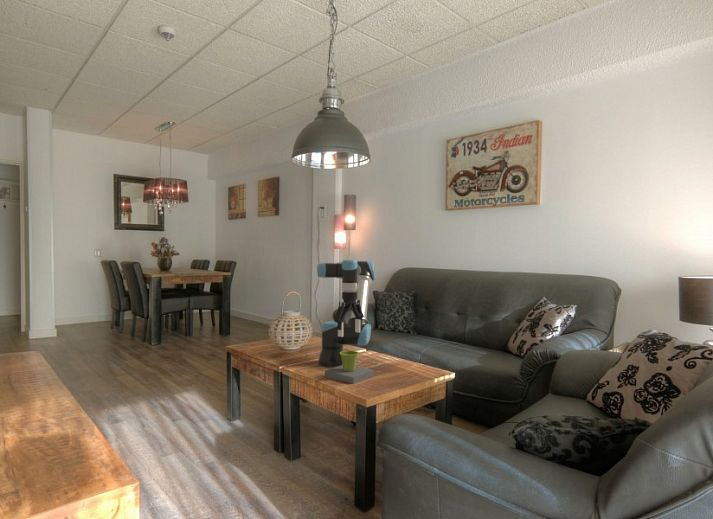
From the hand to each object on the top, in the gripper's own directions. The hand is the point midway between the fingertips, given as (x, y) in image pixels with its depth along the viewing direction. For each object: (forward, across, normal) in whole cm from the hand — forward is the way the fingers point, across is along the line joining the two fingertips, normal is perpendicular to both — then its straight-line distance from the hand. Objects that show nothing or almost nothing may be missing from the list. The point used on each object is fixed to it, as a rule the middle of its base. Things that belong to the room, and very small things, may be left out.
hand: (349, 334), depth 209 cm
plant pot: (+18, 0, 0) cm, 18 cm away
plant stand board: (+21, 0, 0) cm, 21 cm away
